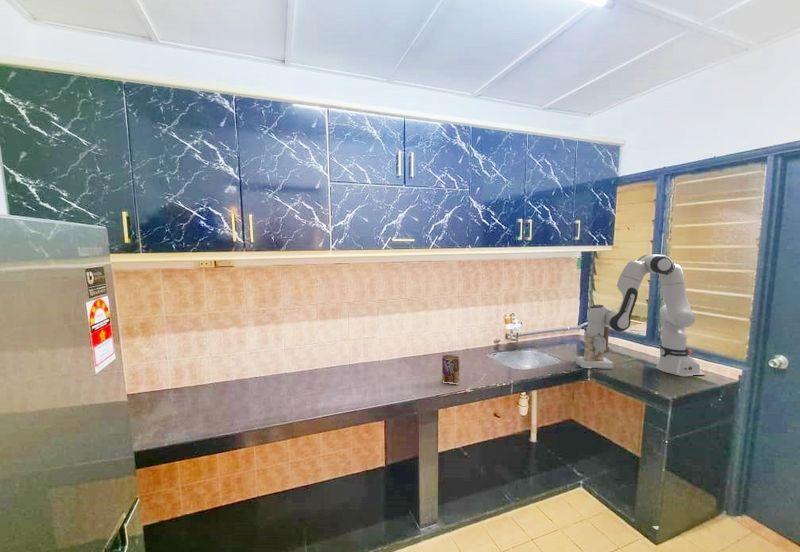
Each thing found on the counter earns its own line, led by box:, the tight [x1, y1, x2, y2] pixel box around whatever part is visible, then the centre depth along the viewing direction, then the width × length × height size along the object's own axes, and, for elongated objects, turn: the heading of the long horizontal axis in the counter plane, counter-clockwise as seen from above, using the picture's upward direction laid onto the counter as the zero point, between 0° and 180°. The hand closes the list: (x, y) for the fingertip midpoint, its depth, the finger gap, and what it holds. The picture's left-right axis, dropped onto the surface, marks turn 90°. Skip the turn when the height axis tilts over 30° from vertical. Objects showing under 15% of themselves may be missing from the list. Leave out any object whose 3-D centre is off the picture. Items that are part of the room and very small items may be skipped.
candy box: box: [441, 354, 461, 383], centre depth 181 cm, size 9×4×15 cm, turn 72°
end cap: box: [574, 355, 614, 370], centre depth 205 cm, size 18×10×4 cm, turn 84°
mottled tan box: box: [583, 337, 605, 361], centre depth 204 cm, size 10×3×16 cm, turn 84°
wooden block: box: [603, 325, 610, 353], centre depth 230 cm, size 4×11×18 cm, turn 104°
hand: (594, 353), depth 205 cm, fingers closed on mottled tan box, 3 cm apart
